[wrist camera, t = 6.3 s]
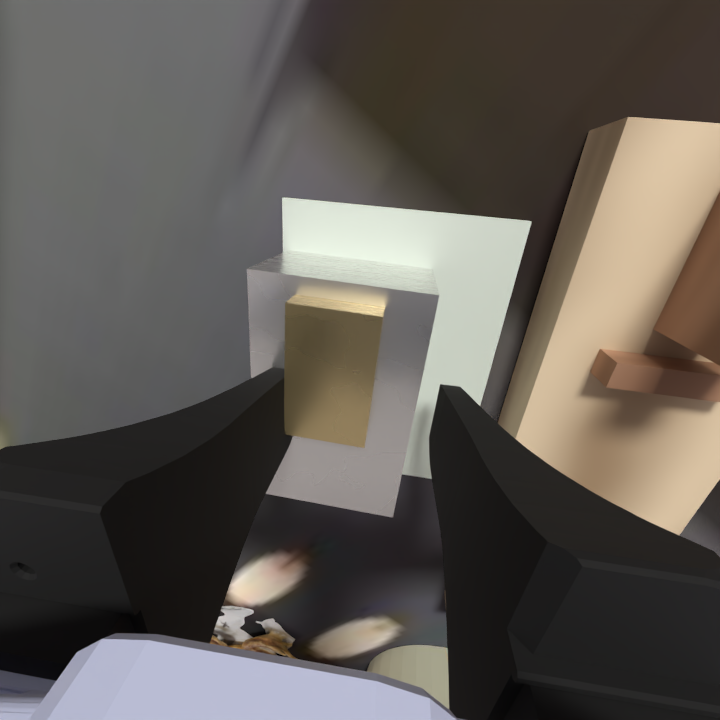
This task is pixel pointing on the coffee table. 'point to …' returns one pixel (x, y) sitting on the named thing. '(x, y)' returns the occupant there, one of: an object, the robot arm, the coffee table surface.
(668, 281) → the hand plane
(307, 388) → the brass-inlaid steel block
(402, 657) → the reusable coffee cup
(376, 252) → the felt pad
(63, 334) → the coffee table surface
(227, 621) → the frog figurine
